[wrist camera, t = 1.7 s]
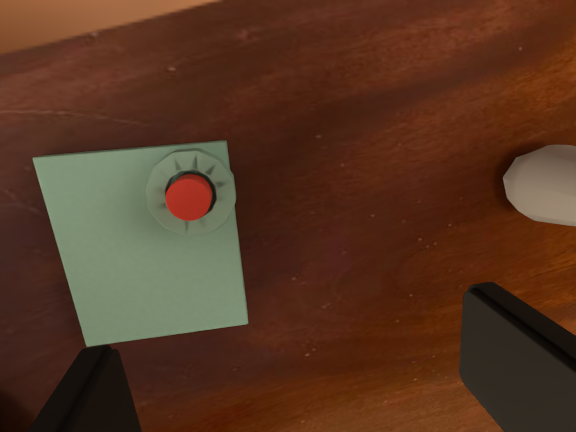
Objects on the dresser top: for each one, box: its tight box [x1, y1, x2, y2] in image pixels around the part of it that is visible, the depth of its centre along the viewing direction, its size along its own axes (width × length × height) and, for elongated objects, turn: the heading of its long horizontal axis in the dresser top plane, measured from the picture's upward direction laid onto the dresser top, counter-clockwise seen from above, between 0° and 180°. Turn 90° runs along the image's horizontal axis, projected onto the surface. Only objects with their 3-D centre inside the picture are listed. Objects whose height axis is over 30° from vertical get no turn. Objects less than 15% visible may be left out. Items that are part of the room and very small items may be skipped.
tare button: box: [166, 174, 212, 221], centre depth 22 cm, size 3×3×2 cm
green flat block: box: [33, 140, 248, 347], centre depth 24 cm, size 14×12×3 cm
